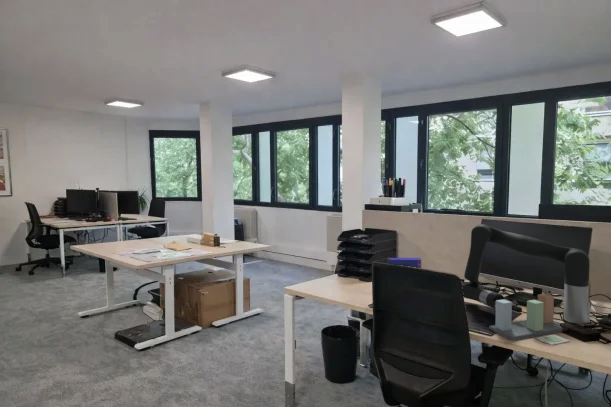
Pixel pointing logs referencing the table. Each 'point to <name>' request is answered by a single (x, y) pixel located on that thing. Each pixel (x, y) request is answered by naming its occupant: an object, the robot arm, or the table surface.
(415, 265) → the cereal box
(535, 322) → the sage block
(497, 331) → the board
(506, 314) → the greyblue block
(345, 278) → the table surface
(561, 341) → the card
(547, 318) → the terracotta block
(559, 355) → the table surface
